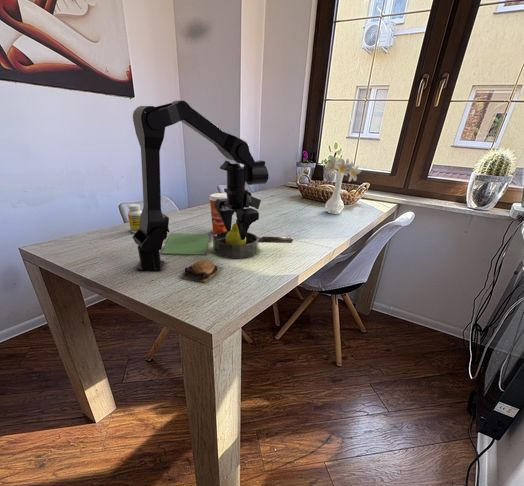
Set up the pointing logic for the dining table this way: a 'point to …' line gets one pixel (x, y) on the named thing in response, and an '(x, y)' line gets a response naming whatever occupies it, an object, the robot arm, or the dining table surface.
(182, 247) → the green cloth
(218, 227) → the paper cup
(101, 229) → the dining table surface
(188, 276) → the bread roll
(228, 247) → the pan
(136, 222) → the supplement bottle
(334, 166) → the flower vase
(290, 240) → the pan handle
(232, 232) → the fruit
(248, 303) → the dining table surface
